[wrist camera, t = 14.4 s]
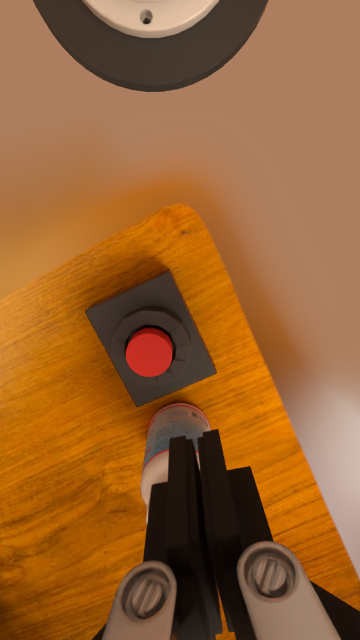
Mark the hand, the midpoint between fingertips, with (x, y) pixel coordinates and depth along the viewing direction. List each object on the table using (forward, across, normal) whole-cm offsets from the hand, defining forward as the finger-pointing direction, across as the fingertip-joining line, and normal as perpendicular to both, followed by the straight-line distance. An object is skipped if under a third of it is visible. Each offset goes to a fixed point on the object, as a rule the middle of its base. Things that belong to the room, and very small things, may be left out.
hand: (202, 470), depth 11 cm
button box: (+20, +3, +1) cm, 20 cm away
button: (+16, +3, +1) cm, 17 cm away
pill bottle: (+20, +3, +11) cm, 23 cm away
